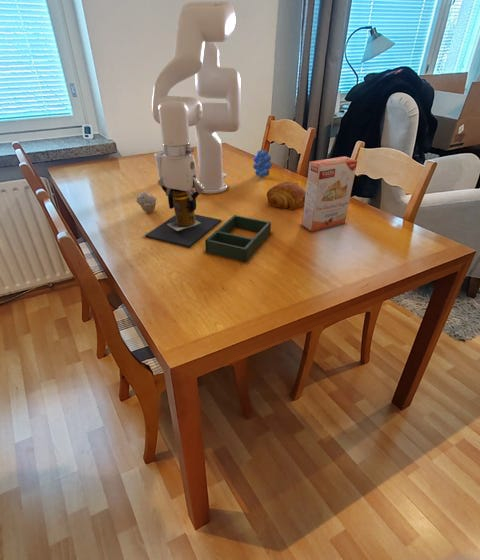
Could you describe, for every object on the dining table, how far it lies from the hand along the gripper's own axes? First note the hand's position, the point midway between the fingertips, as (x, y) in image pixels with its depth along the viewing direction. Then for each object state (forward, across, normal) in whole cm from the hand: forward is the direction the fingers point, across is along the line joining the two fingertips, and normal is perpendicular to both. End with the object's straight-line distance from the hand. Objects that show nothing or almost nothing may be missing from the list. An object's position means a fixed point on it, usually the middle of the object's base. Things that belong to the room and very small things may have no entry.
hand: (182, 208), depth 110 cm
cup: (+7, +30, -34) cm, 46 cm away
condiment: (+5, 0, 0) cm, 5 cm away
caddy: (+7, -20, +1) cm, 21 cm away
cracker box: (+7, -40, -22) cm, 46 cm away
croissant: (+7, -23, -35) cm, 42 cm away
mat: (+7, 0, 0) cm, 7 cm away
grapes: (+7, -4, -58) cm, 58 cm away
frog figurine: (+7, +19, -6) cm, 21 cm away
